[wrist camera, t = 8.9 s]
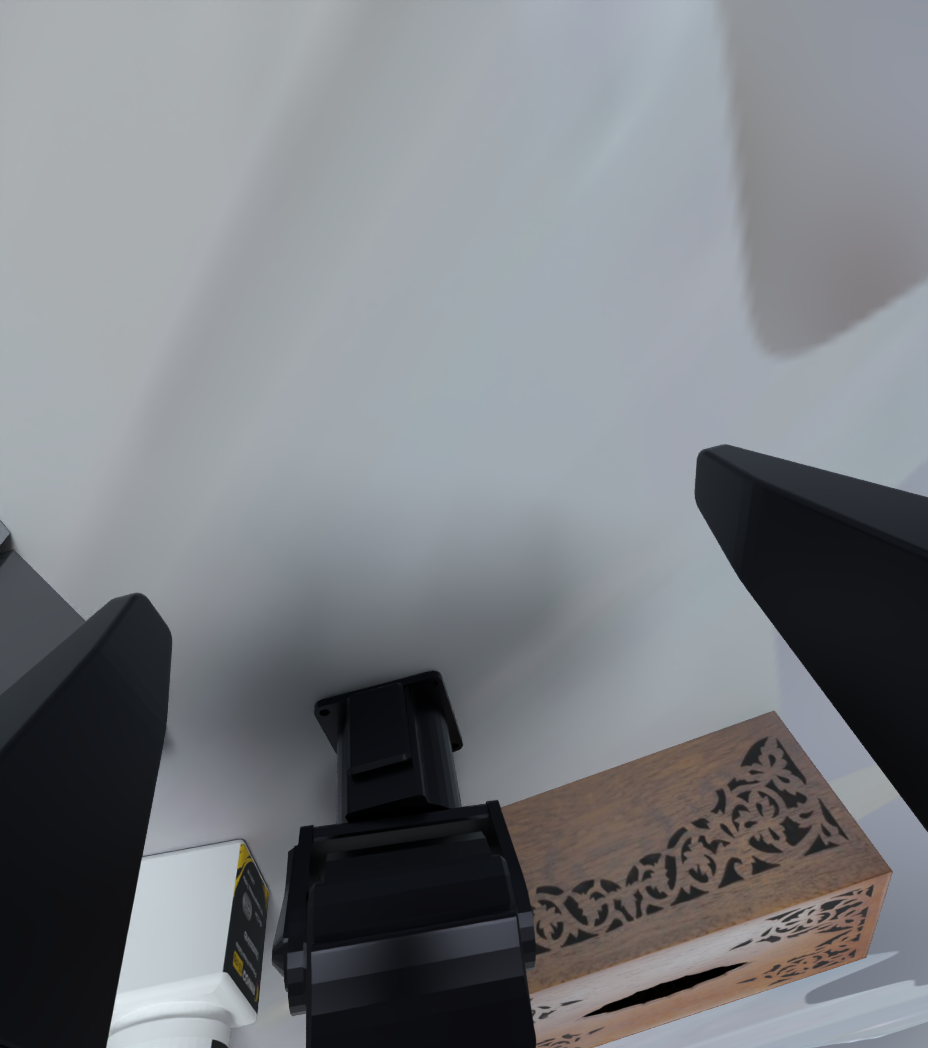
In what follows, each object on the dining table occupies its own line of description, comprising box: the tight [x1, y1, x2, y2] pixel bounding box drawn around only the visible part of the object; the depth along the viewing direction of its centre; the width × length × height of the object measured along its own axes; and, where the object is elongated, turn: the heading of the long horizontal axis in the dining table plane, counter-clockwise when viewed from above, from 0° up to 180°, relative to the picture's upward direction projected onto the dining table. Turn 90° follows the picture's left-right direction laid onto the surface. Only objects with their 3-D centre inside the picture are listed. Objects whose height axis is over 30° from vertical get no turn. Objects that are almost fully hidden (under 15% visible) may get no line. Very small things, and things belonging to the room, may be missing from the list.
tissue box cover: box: [501, 711, 893, 1048], centre depth 38 cm, size 26×14×10 cm, turn 109°
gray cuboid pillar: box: [0, 550, 86, 694], centre depth 22 cm, size 8×5×5 cm, turn 16°
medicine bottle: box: [106, 839, 269, 1048], centre depth 31 cm, size 7×7×12 cm
